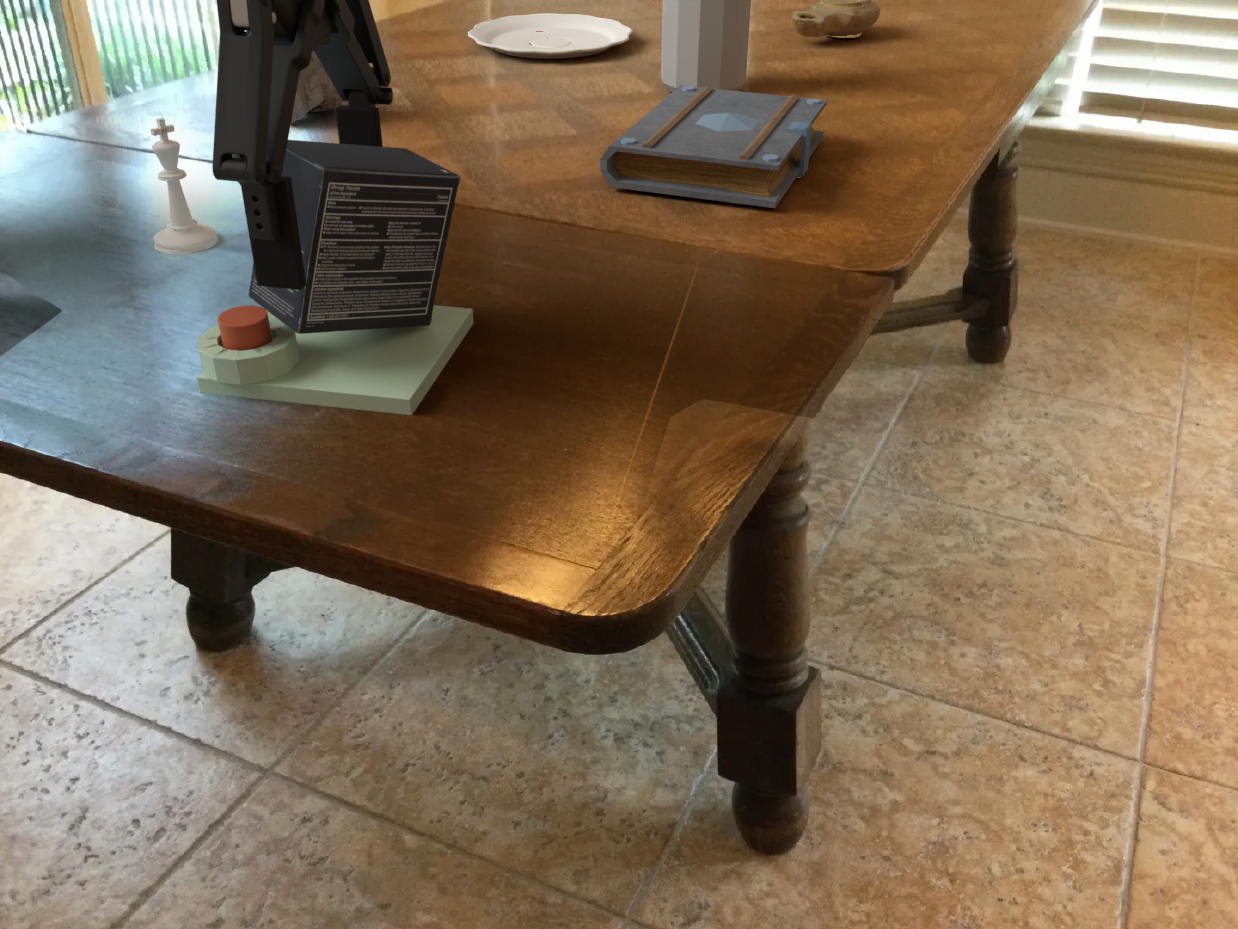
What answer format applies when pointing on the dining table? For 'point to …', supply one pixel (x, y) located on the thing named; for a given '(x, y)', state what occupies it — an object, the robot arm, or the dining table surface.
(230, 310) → the button
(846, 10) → the oil lamp
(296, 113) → the rock
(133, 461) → the dining table surface
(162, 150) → the chess piece
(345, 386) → the pale green flat block
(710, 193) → the book
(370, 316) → the small box
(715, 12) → the jar
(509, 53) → the plate
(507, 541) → the dining table surface
